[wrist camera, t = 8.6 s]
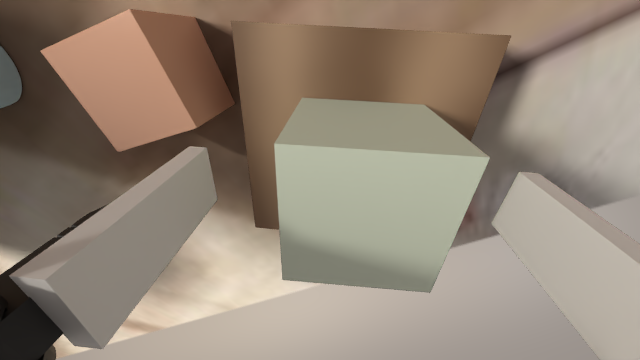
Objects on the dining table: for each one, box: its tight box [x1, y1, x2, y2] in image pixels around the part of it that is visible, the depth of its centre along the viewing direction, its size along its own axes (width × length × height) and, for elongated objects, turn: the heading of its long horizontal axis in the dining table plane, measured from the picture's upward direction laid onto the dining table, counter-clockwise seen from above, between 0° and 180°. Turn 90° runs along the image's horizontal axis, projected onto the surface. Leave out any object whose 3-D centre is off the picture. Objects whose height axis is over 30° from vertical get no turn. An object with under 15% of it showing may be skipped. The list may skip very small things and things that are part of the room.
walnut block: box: [231, 21, 511, 229], centre depth 15 cm, size 12×12×4 cm
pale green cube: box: [274, 98, 490, 293], centre depth 11 cm, size 6×6×6 cm
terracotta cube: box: [41, 9, 235, 152], centre depth 13 cm, size 5×5×5 cm
